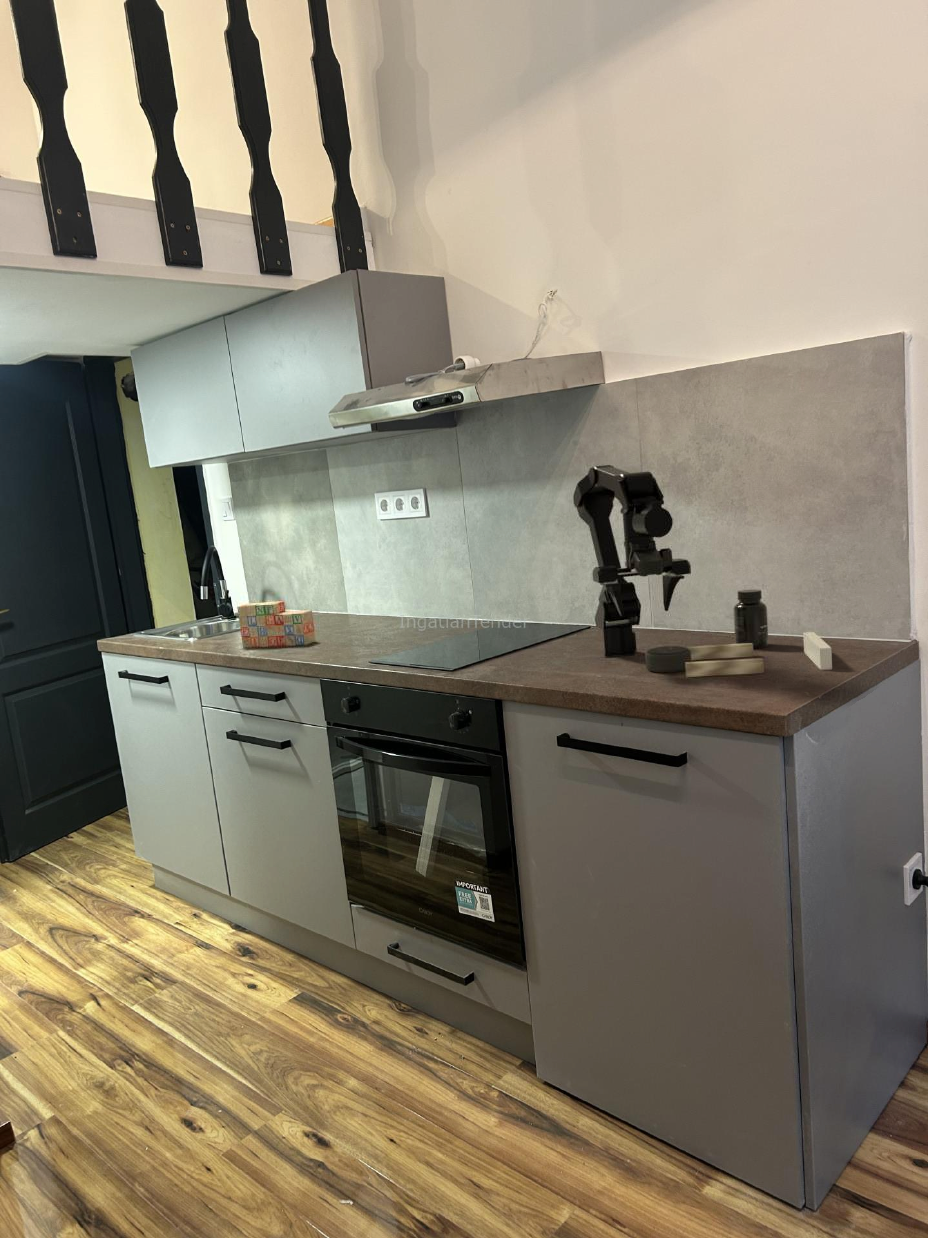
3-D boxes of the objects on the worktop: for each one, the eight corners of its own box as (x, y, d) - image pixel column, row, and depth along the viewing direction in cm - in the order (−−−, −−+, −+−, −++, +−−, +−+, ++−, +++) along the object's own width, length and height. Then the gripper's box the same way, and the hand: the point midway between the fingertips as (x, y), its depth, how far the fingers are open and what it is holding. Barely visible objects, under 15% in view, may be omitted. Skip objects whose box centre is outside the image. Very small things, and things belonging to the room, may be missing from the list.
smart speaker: (698, 665, 181) (697, 645, 180) (682, 675, 174) (680, 654, 173) (656, 664, 186) (655, 644, 186) (639, 673, 179) (637, 653, 178)
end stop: (820, 669, 166) (819, 648, 166) (804, 652, 183) (803, 632, 182) (832, 669, 166) (831, 647, 165) (814, 651, 182) (813, 631, 182)
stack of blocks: (316, 641, 261) (311, 599, 259) (304, 645, 255) (299, 602, 254) (254, 643, 269) (249, 602, 268) (242, 647, 264) (236, 605, 262)
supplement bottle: (770, 648, 190) (767, 591, 188) (736, 650, 191) (733, 594, 190) (766, 642, 196) (763, 587, 195) (734, 644, 198) (731, 589, 196)
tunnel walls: (686, 677, 171) (685, 664, 171) (682, 659, 188) (681, 647, 187) (763, 672, 168) (763, 659, 168) (752, 655, 185) (751, 643, 184)
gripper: (602, 542, 172) (608, 623, 174) (698, 532, 173) (702, 613, 175) (589, 540, 183) (595, 616, 185) (679, 530, 184) (684, 606, 186)
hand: (644, 613), depth 183 cm, fingers open, 9 cm apart
